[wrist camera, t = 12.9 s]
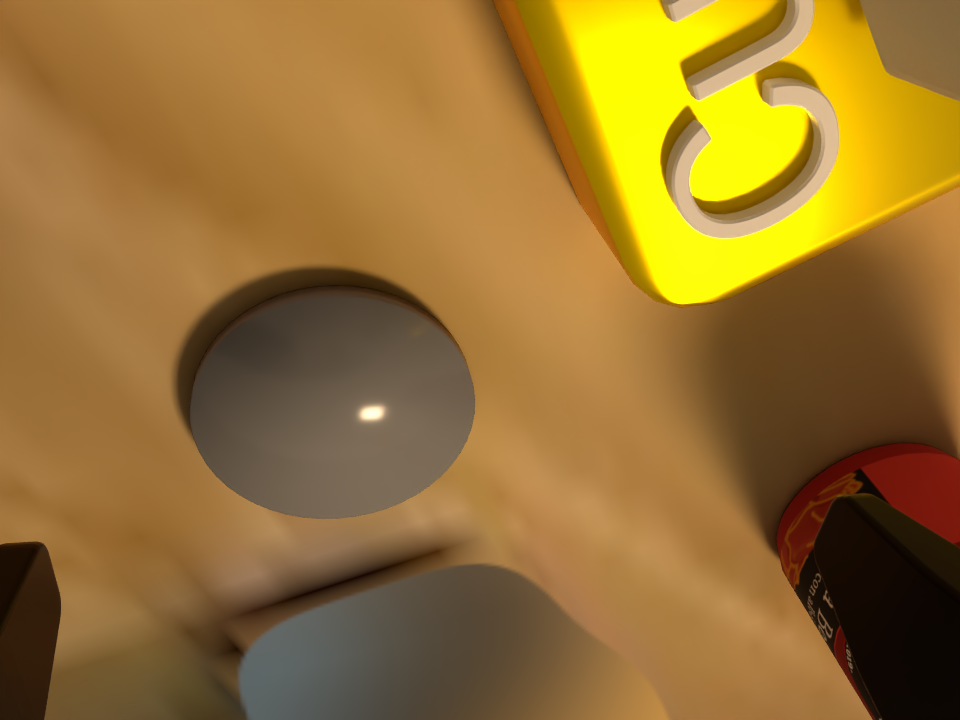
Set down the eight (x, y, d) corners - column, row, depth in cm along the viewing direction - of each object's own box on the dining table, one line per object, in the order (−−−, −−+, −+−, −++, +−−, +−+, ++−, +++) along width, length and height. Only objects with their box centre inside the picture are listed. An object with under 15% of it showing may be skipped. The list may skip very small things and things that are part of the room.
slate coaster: (205, 512, 26) (203, 526, 25) (177, 285, 21) (174, 297, 21) (459, 498, 27) (462, 511, 27) (484, 284, 23) (488, 296, 22)
